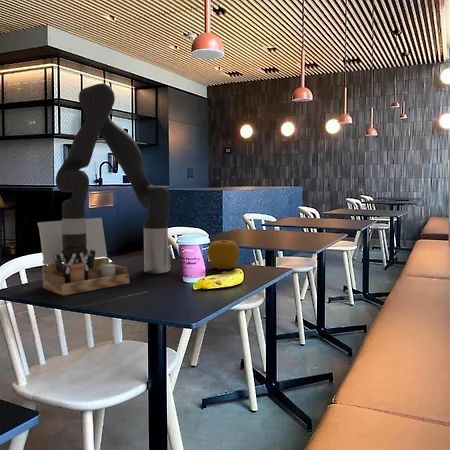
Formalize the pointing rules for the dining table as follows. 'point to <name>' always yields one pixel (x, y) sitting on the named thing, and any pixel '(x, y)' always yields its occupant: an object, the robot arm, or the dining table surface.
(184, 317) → the dining table surface
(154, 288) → the dining table surface
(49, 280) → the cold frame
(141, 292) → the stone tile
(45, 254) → the lid
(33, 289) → the dining table surface
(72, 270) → the terracotta pot
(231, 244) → the apple
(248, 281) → the dining table surface
